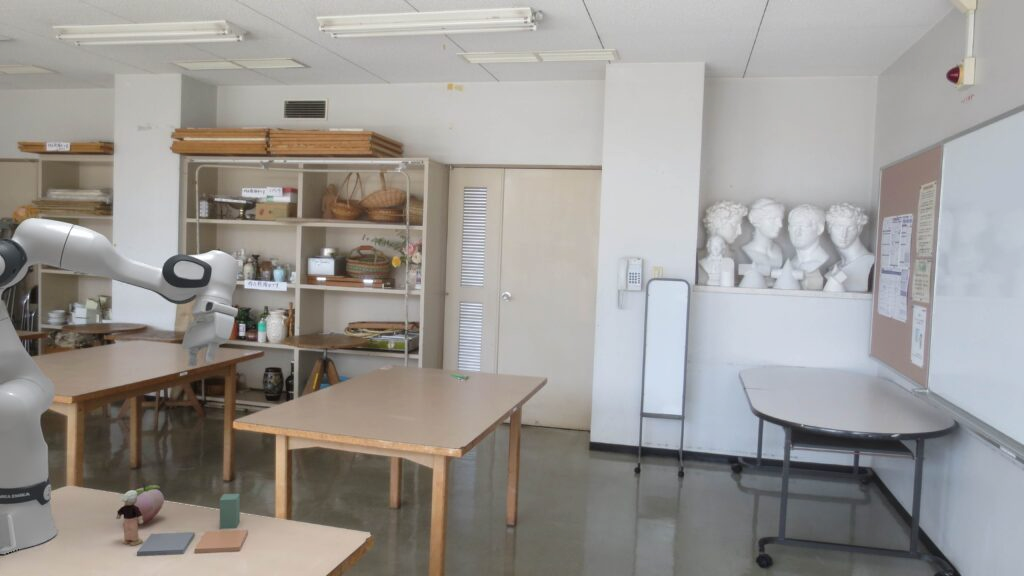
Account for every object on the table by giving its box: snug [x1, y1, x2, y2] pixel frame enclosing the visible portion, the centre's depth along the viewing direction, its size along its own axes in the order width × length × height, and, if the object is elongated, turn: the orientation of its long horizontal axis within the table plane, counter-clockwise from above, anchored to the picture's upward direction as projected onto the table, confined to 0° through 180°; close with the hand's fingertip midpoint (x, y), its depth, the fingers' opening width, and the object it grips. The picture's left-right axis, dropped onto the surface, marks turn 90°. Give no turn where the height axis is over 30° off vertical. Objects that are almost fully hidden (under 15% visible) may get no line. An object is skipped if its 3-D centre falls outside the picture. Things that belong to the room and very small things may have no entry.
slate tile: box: [136, 531, 196, 557], centre depth 170 cm, size 10×10×1 cm
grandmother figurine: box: [115, 489, 144, 546], centre depth 171 cm, size 8×4×13 cm, turn 84°
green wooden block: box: [219, 493, 241, 530], centre depth 182 cm, size 4×4×8 cm
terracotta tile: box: [194, 529, 249, 554], centre depth 172 cm, size 10×10×1 cm
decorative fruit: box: [123, 484, 165, 524], centre depth 182 cm, size 9×8×10 cm
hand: (199, 364), depth 179 cm, fingers open, 8 cm apart
